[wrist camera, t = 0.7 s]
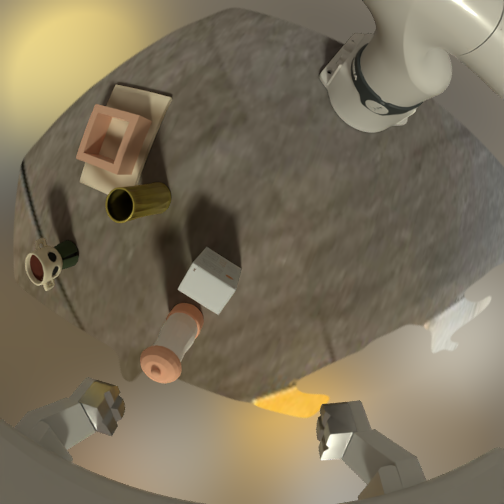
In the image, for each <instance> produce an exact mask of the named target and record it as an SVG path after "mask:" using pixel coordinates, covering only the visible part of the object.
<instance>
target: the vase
mask: <svg viewBox="0 0 504 504" xmlns="http://www.w3.org/2000/svg"><path fill="white" fill-rule="evenodd" d="M170 202H171V194H170V191H169V189H168V188H167V186H166V185H164V184H163V183H160V182H154V183H151V184H143V185H135V186H126V187H117V188H114V189H113V190H111V191H110V192H109V194H108V196H107V198H106V211H107V214H108V216H109V217H110V218H111V219H112V220H113V221H114V222H117V223H124V222H126V221H130V220H133V219H136V218H140V217H144V216H149V215H154V214H161V213H163V212H164V211H166V210H167V209H168V207H169V205H170Z"/></svg>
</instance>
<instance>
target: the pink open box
mask: <svg viewBox="0 0 504 504" xmlns="http://www.w3.org/2000/svg"><path fill="white" fill-rule="evenodd" d="M112 118H116V119H120V120H123V121H126V122H129V124H128V127H127V129H126V132H125V134H124V137H123V139H122V142H121V145H120V147H119V150H118V153H117V156H116V158H115V160H113V159H111V158H108V157H105V156H103V155H100V154H99V152H100V149H101V146H102V144H103V141H104V138H105V135H106V133H107V130H108V128H109V125H110V123H111V120H112ZM151 123H152V121H151V120H148V119H146V118H144V117H142V116H140V115H136V114H133V113H129V112H125V111H122V110H118V109H114V108H110V107H106V106H102V105H98V104H95V107H94V109H93V112H92V114H91V116H90V119H89V122H88V124H87V127H86V130H85V132H84V135H83V138H82V141H81V144H80V147H79V150H78V153H77V156H76V158H77V159H79V160H82V161H84V162H87V163H89V164H92V165H94V166H97V167H99V168H102V169H104V170H107V171H109V172H112V173H114V174H117V175H132V172H133V169H134V166H135V163H136V161H137V158H138V155H139V153H140V150H141V148H142V145H143V142H144V140H145V137H146V135H147V133H148V130H149V128H150V125H151Z"/></svg>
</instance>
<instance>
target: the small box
mask: <svg viewBox="0 0 504 504" xmlns="http://www.w3.org/2000/svg"><path fill="white" fill-rule="evenodd" d="M241 270H242V269H241V268H240V267H238V266H236V265H235V264H233V263H232V262H230V261H228V260H227V259H225V258H224V257H222V256H221V255H219V254H217V253H216V252H214V251H213V250H211V249H210V248H208V247H206V248H205V249H204V250H203V251H202V252H201V254H200V255H199V256H198V257H197V258H196V259H195V260H194V261H193V263H192V265H191V266H190V268H189V270H188V271H187V273H186V275H185V277H184V278H183V280H182V282H181V284H180V285H179V287H178V290H179V291H180V292H182V293H184V294H185V295H187V296H188V297H190V298H192V299H193V300H195V301H196V302H198V303H200V304H201V305H203V306H204V307H206V308H208V309H209V310H211V311H213V312H214V313H216V314H217V315H218V314H219V313H220V312H221V311H222V309H223V308H224V306H225V305H226V304H227V302H228V301H229V299H230V298H231V296H232V295H233V294H234V292H235V291H236V288H237V284H238V281H239V277H240V273H241Z"/></svg>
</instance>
